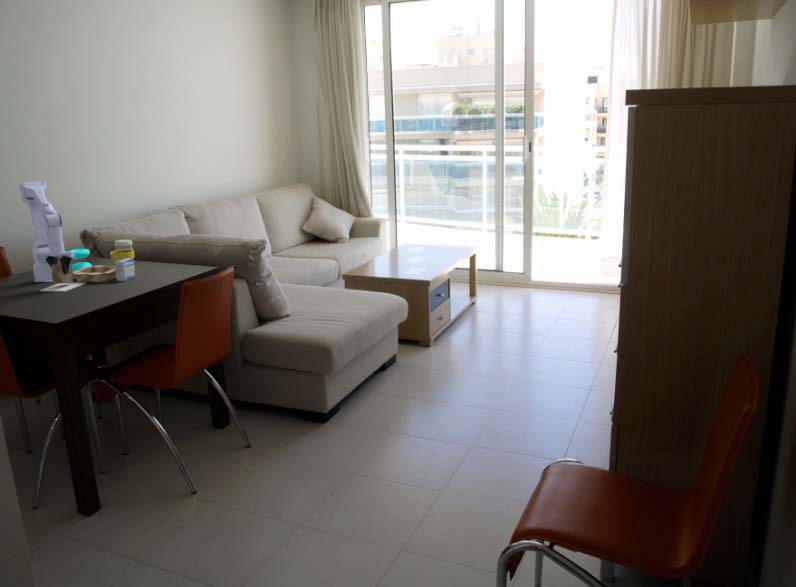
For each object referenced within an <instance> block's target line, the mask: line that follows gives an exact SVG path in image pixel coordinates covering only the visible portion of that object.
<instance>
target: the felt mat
mask: <svg viewBox="0 0 796 587" xmlns="http://www.w3.org/2000/svg"><path fill="white" fill-rule="evenodd" d="M86 284H87V282H76V281H73V282H71V283H62V284H56V283H55V284H53V285H50V286H48V287H46V288H45V287H44V288H41V289H39V291H40V292H62V293H63V292H64V293H65V292H67V291H69V290H72V289H75V288H78V287H80V286H83V285H86Z"/></svg>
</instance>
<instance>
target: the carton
mask: <svg viewBox="0 0 796 587" xmlns="http://www.w3.org/2000/svg"><path fill="white" fill-rule="evenodd" d="M73 275H74V277H75V282H82V283H89V282H90V283H106V282H108V281H111V280H113V278H114V279H117V276H116V270H115V265H107V264H106V265H102V264H101V265H97V264H95V265H92V267H84V268H82V269H79V270H76V271H73V272H72V276H73Z"/></svg>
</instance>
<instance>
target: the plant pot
mask: <svg viewBox="0 0 796 587" xmlns="http://www.w3.org/2000/svg"><path fill="white" fill-rule="evenodd" d="M134 250H135V249H133V248H132V249H123V250H116V249H115V250H113V251H110V252H109V255H110V259H111V261H113V264H114V265H115V262H117V261H120V260H123V259H127V258H131V259H133V260H134V258H135V251H134Z"/></svg>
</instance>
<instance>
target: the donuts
mask: <svg viewBox="0 0 796 587" xmlns="http://www.w3.org/2000/svg"><path fill="white" fill-rule="evenodd" d="M68 252H74V255H75V257H72V259H73V260H79V259H86V258H87V257H88V256H90V254H91V252H90V250H89V249H87V248H77V249H76V248H75V249H72V250H68ZM72 259H71V260H72ZM92 266H93V265H92V263H89V262H85V261H83V262H76V263H72V272H73V271H76V270H79V269H82V268H84V267H92Z"/></svg>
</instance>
